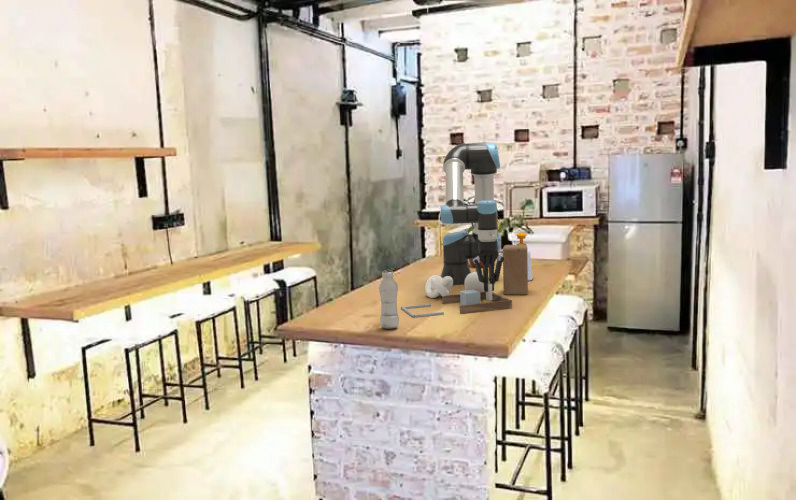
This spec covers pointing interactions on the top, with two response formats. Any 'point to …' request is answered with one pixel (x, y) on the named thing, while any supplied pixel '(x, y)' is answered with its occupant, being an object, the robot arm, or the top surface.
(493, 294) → the brown flat u-shaped frame
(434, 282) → the white lobed knot
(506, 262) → the wooden block
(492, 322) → the top surface
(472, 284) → the ornament
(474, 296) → the cube
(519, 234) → the soap bottle
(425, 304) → the corral
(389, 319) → the plastic bottle
